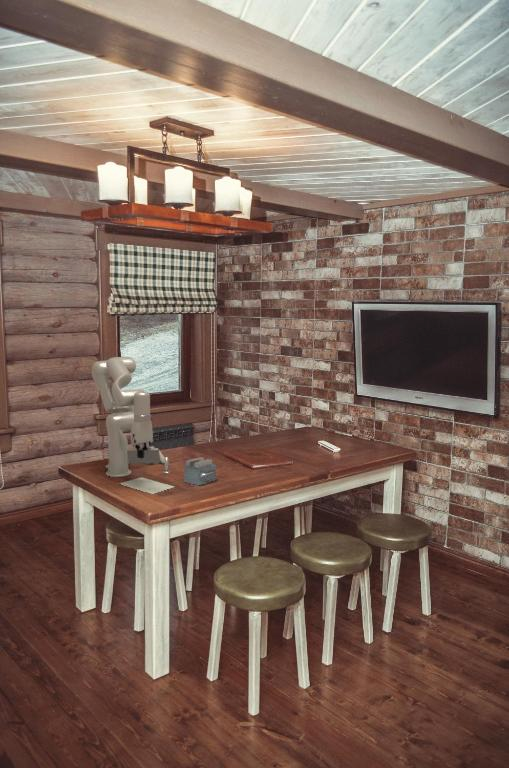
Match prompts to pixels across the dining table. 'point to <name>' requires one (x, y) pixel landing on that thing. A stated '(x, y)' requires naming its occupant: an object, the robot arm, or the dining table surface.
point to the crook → (144, 456)
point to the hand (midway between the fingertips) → (142, 456)
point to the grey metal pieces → (197, 471)
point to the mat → (146, 485)
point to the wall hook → (160, 456)
